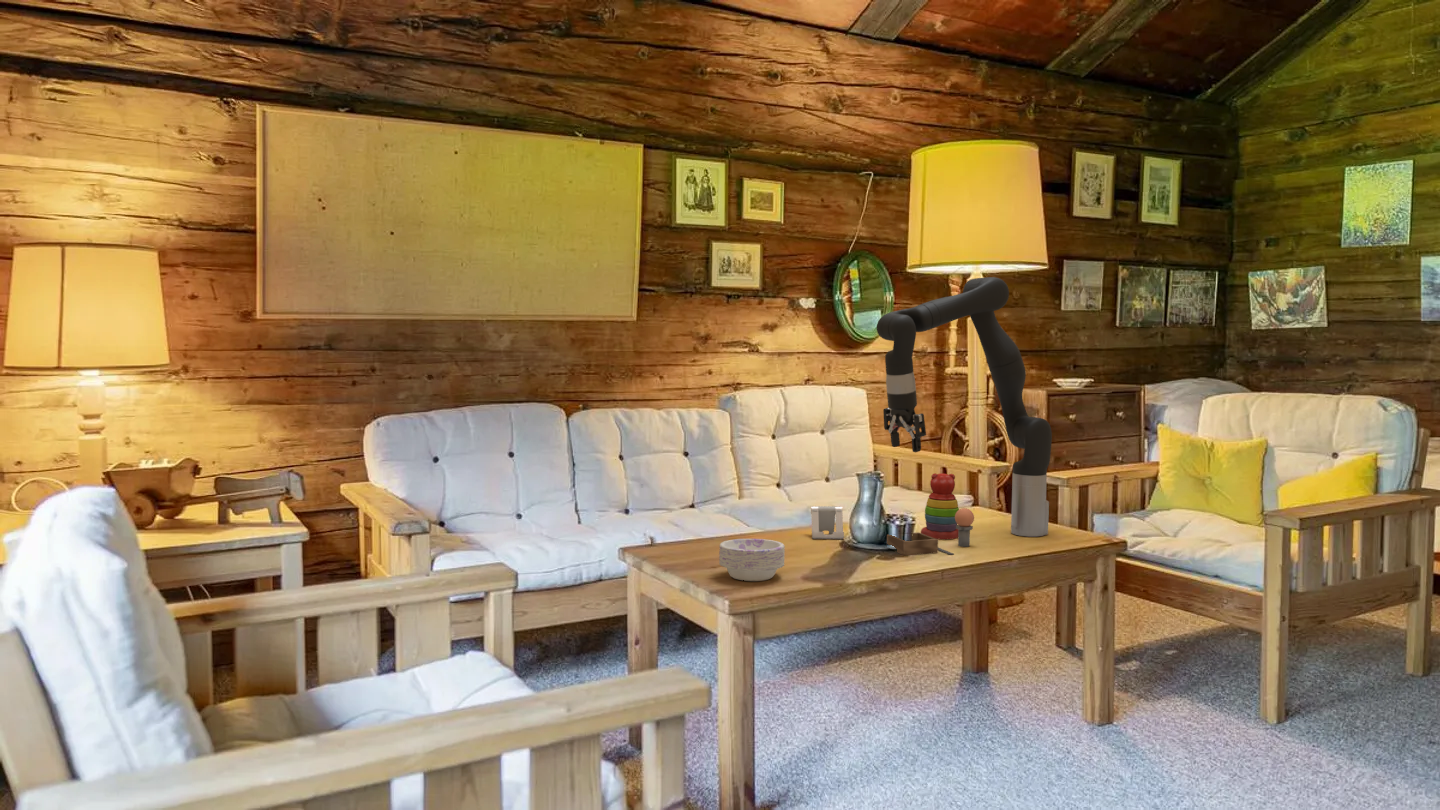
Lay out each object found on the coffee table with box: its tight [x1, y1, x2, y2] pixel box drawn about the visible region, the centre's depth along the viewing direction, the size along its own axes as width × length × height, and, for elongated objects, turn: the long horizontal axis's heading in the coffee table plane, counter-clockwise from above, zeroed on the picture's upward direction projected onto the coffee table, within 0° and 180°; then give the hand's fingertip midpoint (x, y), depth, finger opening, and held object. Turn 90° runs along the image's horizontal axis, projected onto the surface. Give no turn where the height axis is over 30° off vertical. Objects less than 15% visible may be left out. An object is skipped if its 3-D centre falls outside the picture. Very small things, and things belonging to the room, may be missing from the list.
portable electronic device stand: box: [810, 505, 845, 540], centre depth 282 cm, size 9×8×8 cm
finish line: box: [938, 547, 955, 556], centre depth 268 cm, size 1×16×1 cm, turn 19°
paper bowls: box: [718, 538, 786, 582], centre depth 237 cm, size 15×15×8 cm
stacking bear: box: [920, 472, 960, 541], centre depth 283 cm, size 11×10×18 cm
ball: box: [955, 507, 975, 527], centre depth 271 cm, size 5×5×5 cm
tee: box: [956, 524, 974, 548], centre depth 271 cm, size 4×4×5 cm
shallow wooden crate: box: [886, 531, 939, 556], centre depth 266 cm, size 10×10×4 cm
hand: (906, 448), depth 269 cm, fingers open, 8 cm apart
